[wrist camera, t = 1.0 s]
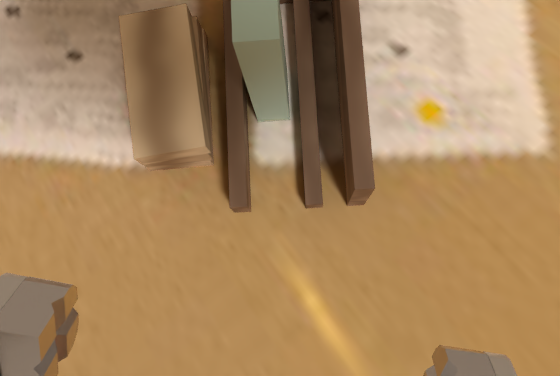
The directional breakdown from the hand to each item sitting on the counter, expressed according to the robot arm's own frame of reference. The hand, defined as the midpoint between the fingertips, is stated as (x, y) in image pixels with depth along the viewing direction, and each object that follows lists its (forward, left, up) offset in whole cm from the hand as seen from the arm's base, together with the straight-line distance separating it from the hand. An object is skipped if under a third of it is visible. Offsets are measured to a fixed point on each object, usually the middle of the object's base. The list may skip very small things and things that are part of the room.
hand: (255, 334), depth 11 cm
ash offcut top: (+10, -19, -30) cm, 37 cm away
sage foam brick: (+1, -19, -34) cm, 39 cm away
